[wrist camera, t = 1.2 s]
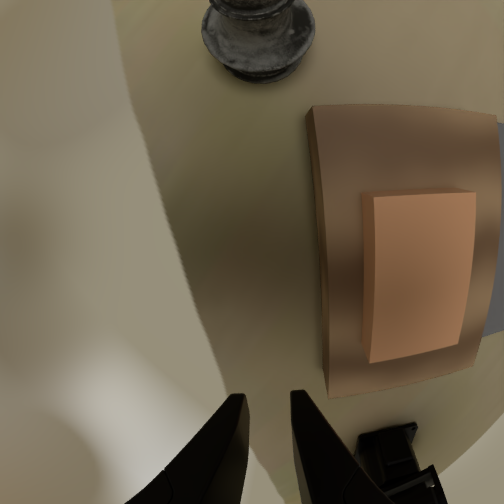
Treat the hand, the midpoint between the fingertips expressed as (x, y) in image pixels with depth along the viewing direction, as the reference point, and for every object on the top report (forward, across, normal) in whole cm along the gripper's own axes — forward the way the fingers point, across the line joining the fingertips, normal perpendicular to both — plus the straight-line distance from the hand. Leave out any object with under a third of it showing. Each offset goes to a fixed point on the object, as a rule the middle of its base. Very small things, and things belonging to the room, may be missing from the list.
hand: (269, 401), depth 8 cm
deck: (+12, -9, 0) cm, 15 cm away
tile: (+8, -8, 0) cm, 12 cm away
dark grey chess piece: (+12, -1, -14) cm, 19 cm away
